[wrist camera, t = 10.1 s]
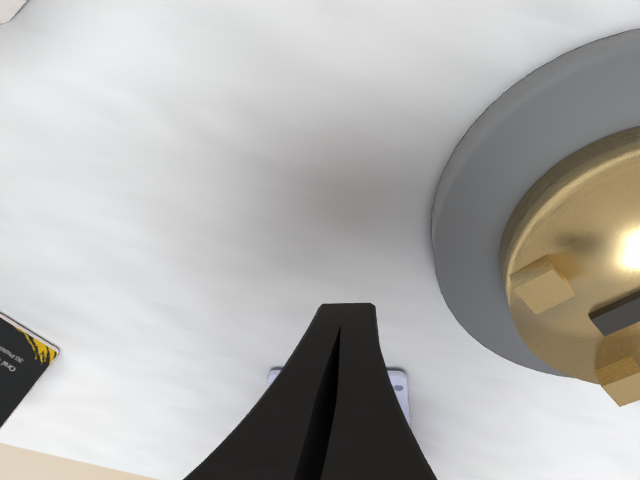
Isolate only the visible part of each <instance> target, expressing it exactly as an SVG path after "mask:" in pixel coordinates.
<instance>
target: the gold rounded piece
mask: <svg viewBox="0 0 640 480" xmlns="http://www.w3.org/2000/svg"><path fill="white" fill-rule="evenodd" d="M499 270H500V277H501V280H502V284H503V287H504V291H505V294H506V297H507V301H508V304H509V308H510V311H511V315H512V318H513V321H514V324H515V327H516V330H517V332H518V333H519V335H520V337H521V339H522V340H523V342H524V343H525V344H526V345H527V347H528V348H529V349H530V350H531V351H532V352H533V353H534V354H535V355H536V356H537V357H538V358H539V359H540V360H542V361H543V362H545V363H546V364H548V365H549V366H551V367H552V368H554V369H556V370H558V371H560V372H562V373H564V374H566V375H569V376H572V377H574V378H577V379H580V380H583V381H587V382H591V383H595V384H600V385H601V387H602V388H603V389H604V390H605V391H606V392H607V393H608V394H609V395H610V397H611V398H612V399H613V400H614V401H615V402H616V403H617V404H618V405H619V406H623V405H626V404H629V403H632V402H635V401H637V400H640V126H639V127H635V128H631V129H628V130H625V131H622V132H619V133H616V134H613V135H610V136H607V137H605V138H603V139H600V140H598V141H596V142H594V143H591V144H589V145H587V146H586V147H584V148H582V149H580V150H578V151H577V152H575V153H573V154H571V155H570V156H568V157H567V158H565V159H564V160H562V161H561V162H560V163H558V164H557V165H555V166H554V167H553V168H551V169H550V170H549V171H548V172H547V173H546V174H544V175H543V176H542V177H541V178H540V179H539V180H538V181H537V182H536V183H535V184H534V185H533V186H532V187H531V188H530V189H529V190H528V192H527V193H526V194H525V195H524V196H523V198H522V199H521V200H520V202H519V203H518V205H517V206H516V207H515V209H514V211H513V213H512V214H511V216H510V218H509V220H508V222H507V224H506V227H505V230H504V232H503V235H502V238H501V244H500V249H499Z"/></svg>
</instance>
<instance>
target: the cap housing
mask: <svg viewBox="0 0 640 480" xmlns="http://www.w3.org/2000/svg"><path fill="white" fill-rule="evenodd" d="M639 126H640V29H636V30H631V31H626V32H623V33H620V34H616V35H613V36H610V37H606V38H603V39H600V40H596V41H594V42H591V43H589V44H587V45H584V46H582V47H580V48H577V49H575V50H572V51H570V52H568V53H565V54H563V55H562V56H560V57H558V58H556V59H554V60H553V61H551V62H549V63H547V64H545V65H544V66H542V67H540V68H538V69H536V70H535V71H533V72H532V73H531V74H529V75H528V76H526V77H525V78H524V79H522V80H521V81H519V82H518V83H516V84H515V85H514V86H512V87H511V88H510V89H509V90H507V91H506V92H505V93H504V94H503V95H502V96H501V97H499V98H498V99H497V100H496V101H495V102H494V103H493V104H491V105H490V106H489V107H488V108H487V109H486V110H485V112H484V113H483V114H482V115H481V116H480V117H479V118H478V119H477V120H476V122H475V123H474V124H473V125H472V126H471V127H470V128H469V130H468V131H467V133H466V134H465V135H464V137H463V138H462V140H461V141H460V143H459V144H458V145H457V147H456V148H455V150H454V152H453V154H452V156H451V158H450V159H449V161H448V163H447V165H446V167H445V169H444V171H443V174H442V177H441V179H440V182H439V185H438V187H437V190H436V195H435V200H434V204H433V209H432V224H431V232H432V242H433V251H434V260H435V270H436V276H437V280H438V283H439V287H440V290H441V293H442V295H443V297H444V299H445V302H446V304H447V306H448V308H449V309H450V311H451V312H452V314H453V315H454V317H455V318H456V320H457V321H458V322H459V324H460V325H461V326H462V327H463V328H464V329H465V330H466V331H467V332H468V333H469V334H470V335H471V336H472V337H473V338H475V339H476V340H477V341H478V342H479V343H481V344H482V345H483V346H484V347H486V348H488V349H489V350H491V351H493V352H494V353H496V354H497V355H499V356H501V357H503V358H505V359H507V360H509V361H512V362H514V363H516V364H518V365H521V366H524V367H527V368H530V369H533V370H536V371H540V372H544V373H548V374H553V375H557V376H564V377H571V378H574V377H572V376H569V375H566V374H564V373H562V372H560V371H558V370H556V369H554V368H552V367H551V366H549V365H548V364H546V363H545V362H543V361H542V360H540V359H539V358H538V357H537V356H536V355H535V354H534V353H533V352H532V351H531V350H530V349H529V348H528V347H527V345H526V344H525V343H524V342H523V340H522V339H521V337H520V335H519V333H518V332H517V330H516V327H515V324H514V321H513V318H512V315H511V311H510V308H509V304H508V301H507V297H506V294H505V291H504V287H503V284H502V280H501V277H500V270H499V249H500V244H501V238H502V235H503V232H504V230H505V227H506V224H507V222H508V220H509V218H510V216H511V214H512V213H513V211H514V209H515V207H516V206H517V205H518V203H519V202H520V200H521V199H522V198H523V196H524V195H525V194H526V193H527V192H528V190H529V189H530V188H531V187H532V186H533V185H534V184H535V183H536V182H537V181H538V180H539V179H540V178H541V177H542V176H543V175H544V174H546V173H547V172H548V171H549V170H550V169H551V168H553V167H554V166H555V165H557V164H558V163H560V162H561V161H562V160H564V159H565V158H567V157H568V156H570V155H571V154H573V153H575V152H577V151H578V150H580V149H582V148H584V147H586V146H587V145H589V144H591V143H594V142H596V141H598V140H600V139H603V138H605V137H607V136H610V135H613V134H616V133H619V132H622V131H625V130H628V129H631V128H635V127H639Z"/></svg>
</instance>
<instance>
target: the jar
mask: <svg viewBox="0 0 640 480" xmlns="http://www.w3.org/2000/svg"><path fill="white" fill-rule="evenodd" d="M26 2H27V0H0V24H3V23H6V22H8V21H10V20H11V18H12V17H13V16H14V15H15V14H16V13H17V12H18V11H19V9H20V8H21V7H22V6H23V5H24V4H25V3H26Z"/></svg>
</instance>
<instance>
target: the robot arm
mask: <svg viewBox="0 0 640 480" xmlns="http://www.w3.org/2000/svg"><path fill="white" fill-rule="evenodd" d="M267 380H268V384H269V388H268V389H267V390H266V392H265V393H264V394H263V396H262V397H261V398H260V400H259V401H258V402H257V403H256V405H255V406H254V407H253V408H252V409H251V411H250V412H249V413H248V414H247V415H246V417H245V418H244V419H243V420H242V421H241V422H240V423H239V425H238V426H237V427H236V428H235V429H234V430H233V431H232V432H231V433H230V434H229V435H228V436H227V438H226V439H225V440H224V441H223V442H222V443H221V444H220V445H219V446H218V447H217V448H216V449H215V450H214V451H213V452H212V453H211V454H210V455H209V456H208V457H207V458H206V459H205V460H204V461H203V462H202V463H201V464H200V465H199V466H198V467H196V468H195V469H194V470H193V471H192V472H191V473H190V474H189V475H188V476H186V477H185V478H184V479H183V480H437V478H436V476H435V475H434V473H433V471H432V469H431V468H430V466H429V464H428V462H427V460H426V459H425V457H424V455H423V453H422V451H421V449H420V447H419V445H418V443H417V441H416V439H415V437H414V435H413V433H412V431H411V429H410V416H409V401H408V386H407V376H406V374H405V373H403V372H401V371H387V369H386V366H385V362H384V359H383V356H382V353H381V349H380V345H379V336H378V327H377V318H376V308H375V306H374V305H373V304H371V303H338V304H322V305H321V306H320V307H319V308H318V310H317V312H316V314H315V316H314V318H313V320H312V322H311V323H310V325H309V327H308V329H307V331H306V332H305V334H304V336H303V337H302V339H301V341H300V342H299V344H298V345H297V347H296V349H295V350H294V352H293V353H292V355H291V356H290V358H289V359H288V361H287V362H286V364H285V366H284V367H283V368H282V370H272V371H270V372H269V374H268V377H267Z"/></svg>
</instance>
